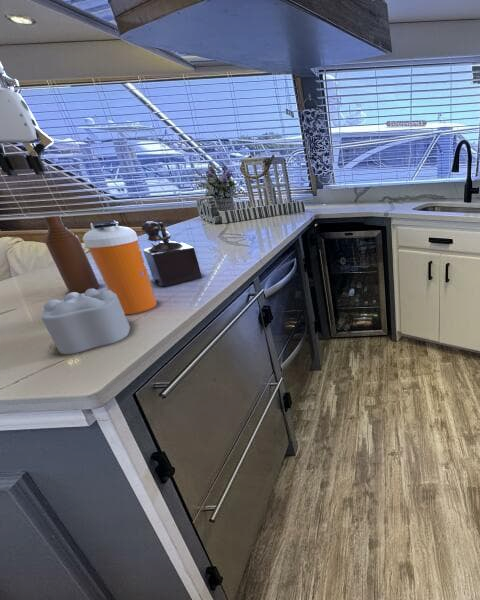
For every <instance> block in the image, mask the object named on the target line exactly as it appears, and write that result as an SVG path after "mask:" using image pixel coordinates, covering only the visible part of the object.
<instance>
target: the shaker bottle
mask: <svg viewBox="0 0 480 600" xmlns="http://www.w3.org/2000/svg"><path fill="white" fill-rule="evenodd" d="M89 225H90V228H91V229H90V230H88V231H87V232H85V234H84V235H83V237H82V241H83V244H84V246H85V248H86V249H88V252H89V254H91V257H92V260H93V261H94V264H95V265H96V267H97V270H98V271H99V274H100V275H101V278H102V279H103V281H104V284H105V285H106V287H107V290H111V291H112V292H113V293H115V294H116V295H117V297H118V299H119V302H120V304H121V307H122V309H123V311H124V314H125V315H135V314H140V313H144V312H146V311H149V310H151V309H153V308H155V307H156V306H157V304H158V303H157V300H156V296H155V293H154V289H153V287H152V283H151V279H150V276H149V273H148V270H147V266H146V264H145V261H144V258H143V255H142V251H141V247H140V243H139V238H138V235H137V232H136V231H135V230H133V229H132V228H131V227H128V226H122V225H119V222H118V221H116V220H115V219H110V220H103V221H102V220H101V221H94V222H90V224H89Z"/></svg>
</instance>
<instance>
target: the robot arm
mask: <svg viewBox="0 0 480 600" xmlns="http://www.w3.org/2000/svg"><path fill="white" fill-rule="evenodd" d="M14 87H20V82H19V81H18V80H17V78H11V77H9V76H8V75H7V74H6V71H5V69H4V66H3V64H2V62H1V61H0V168H1V170H2V172H3V173H6V176H8V177H17V176H19V174H18V172H17V170H12V169H11V167H10V165H9V163H8V161H7V159H6V156H7V155H6V151H5V148H4V144H22V145H23V146H24V148H25V150H26V151H27V152H28V155H30V156H29V157H28V158H29V161H30V163H31V165H32V167H33V169H34V170H33V172H34V174H35V175H37V176H45V175H46V173H45V172H46V171H47V170H46V169H47V168H46V167H45V165H44V162H43V160H42V158H41V157H42V155H43V153H44V152H45V151H46V150H47V148H49V147H50V146H52V145H53V144H54V143H55V141H54V140H53V138H51V137H50V136H48V134H46V133H45V132H43V131H42V129H40V127H39V125H38V123H37V120H36V118H35V117H34V115H33V113H32V112H31V109H30V108H29V106H28V104H27V103H26V101H25V99H24V97H22V95H21V94H20V93H19V92H16V91H14V90H15V89H14ZM35 143H36V144H35Z"/></svg>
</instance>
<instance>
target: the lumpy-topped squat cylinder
mask: <svg viewBox="0 0 480 600" xmlns="http://www.w3.org/2000/svg"><path fill="white" fill-rule="evenodd" d="M40 318H41V320H42V322H43V323H44V326H45V327H46V329H47V331H48V334H49V335H50V337H51V339H52V341H53V342H54V345H55V346H56V348H57V350H58V352H59V353H60V354H61V355H72V354H78V353H80V352H84V351H88V350H90V349H94V348H98V347H102V346H107V345H111V344H114V343H117V342H119V341H121V340H123V339H124V338H126V337H127V336H128V335H129V333H130V330H131V326H130V324H129V321H128V319H127V316H126V314H124V311H123V309H122V307H121V304H120V302H119V299H118V297H117V295H116V294H115V293H113V292H112V291H111V290H108V289H103V290H98V289H88V290H86V292H84V293H77V292H71V293H69V292H68V293H67V294H66V295H65V296H64V298H63V299H60V300H58V299H50V300H48V301H45V303H44V304H43V311H42V313H41V315H40Z"/></svg>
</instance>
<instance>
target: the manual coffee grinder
mask: <svg viewBox="0 0 480 600" xmlns="http://www.w3.org/2000/svg"><path fill="white" fill-rule="evenodd" d="M141 230H142V232H143V233H145V234H146V235H147V236H148V237H147V241H150V242H151V243H150V244H151V245H152V246H151V247H148V248H144V249H142V250H143V256H144V258H145V260H146V263H147V265H148V267H149V271H150V274H151V277H152V281H153V282H152V283H154V284H156V285H158V286H159V287H170V286H175V285H178V284H183V283H188V282H191V281H194V280H199V279H202V273H201V268H200V264H199V261H198V258H197V254H196V250H195V247H194V246H191V245H189V244H187V243H184V242H177V241H173V240H170V239H171V237H172V235H171V234H170V232H168V231H167V229H166V227H165V224H164V223H163V222H161V221H160V222H155V221H146V222H144V223H143V224H142V226H141ZM160 232H161V235H162V236H161V235H160ZM152 242H154V243H155V242H157V243H156V244H153V243H152Z"/></svg>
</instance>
